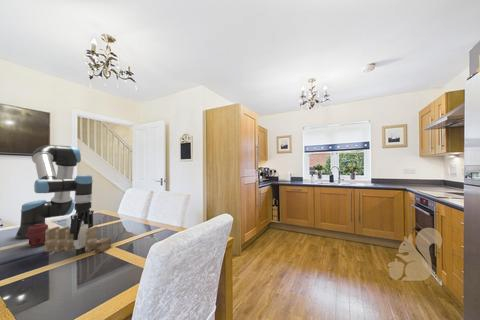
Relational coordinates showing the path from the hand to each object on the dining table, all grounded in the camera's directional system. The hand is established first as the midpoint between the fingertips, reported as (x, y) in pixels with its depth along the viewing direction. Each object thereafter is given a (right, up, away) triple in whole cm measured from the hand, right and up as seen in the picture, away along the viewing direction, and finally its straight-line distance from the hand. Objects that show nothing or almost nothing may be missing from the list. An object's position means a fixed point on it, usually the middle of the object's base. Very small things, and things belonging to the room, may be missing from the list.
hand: (81, 243), depth 108 cm
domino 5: (+5, -3, 0) cm, 6 cm away
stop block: (+12, -3, 0) cm, 12 cm away
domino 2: (-11, -3, 0) cm, 12 cm away
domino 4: (0, -2, 0) cm, 2 cm away
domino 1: (-17, -3, 0) cm, 17 cm away
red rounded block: (-32, -4, +6) cm, 32 cm away
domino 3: (-6, -3, 0) cm, 7 cm away
